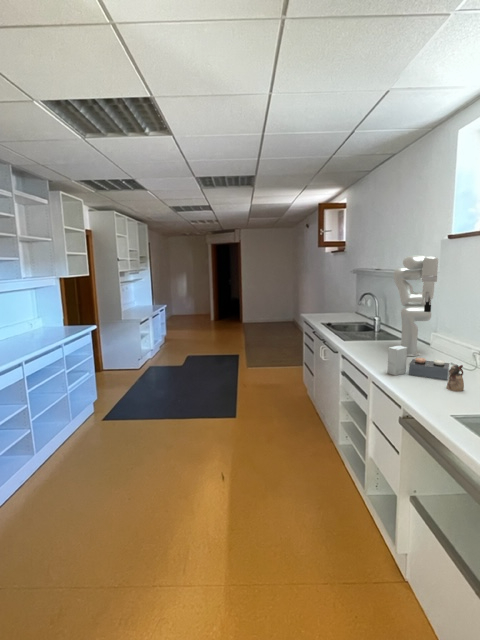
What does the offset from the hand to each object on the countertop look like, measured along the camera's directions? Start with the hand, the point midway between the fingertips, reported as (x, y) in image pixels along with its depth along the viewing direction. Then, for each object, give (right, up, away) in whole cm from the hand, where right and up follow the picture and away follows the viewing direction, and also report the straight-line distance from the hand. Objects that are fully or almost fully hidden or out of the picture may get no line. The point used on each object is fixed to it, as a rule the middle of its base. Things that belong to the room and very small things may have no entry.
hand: (427, 311), depth 204 cm
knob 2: (0, -34, -12) cm, 36 cm away
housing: (-4, -34, -9) cm, 36 cm away
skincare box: (-20, -34, -6) cm, 40 cm away
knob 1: (-8, -33, -7) cm, 35 cm away
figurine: (-3, -38, -31) cm, 49 cm away
